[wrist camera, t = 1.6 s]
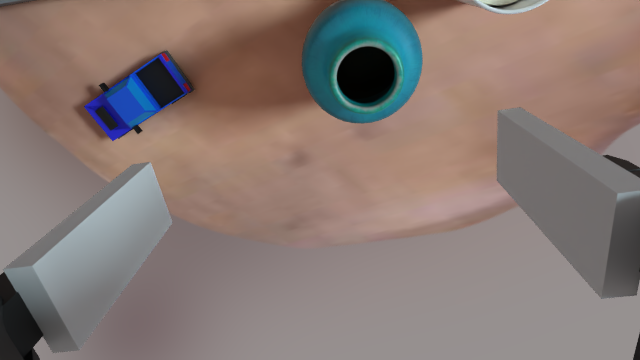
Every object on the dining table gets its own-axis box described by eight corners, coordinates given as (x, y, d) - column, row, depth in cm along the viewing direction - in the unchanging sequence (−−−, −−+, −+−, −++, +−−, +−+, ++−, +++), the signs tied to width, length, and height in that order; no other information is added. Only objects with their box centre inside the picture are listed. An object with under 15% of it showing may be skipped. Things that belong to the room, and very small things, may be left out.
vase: (374, 107, 48) (396, 170, 31) (294, 70, 47) (269, 114, 29) (419, 22, 44) (473, 39, 27) (332, -22, 43) (330, -35, 25)
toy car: (91, 95, 49) (67, 105, 45) (166, 43, 46) (147, 48, 42) (128, 139, 52) (107, 153, 47) (201, 93, 49) (187, 102, 44)
